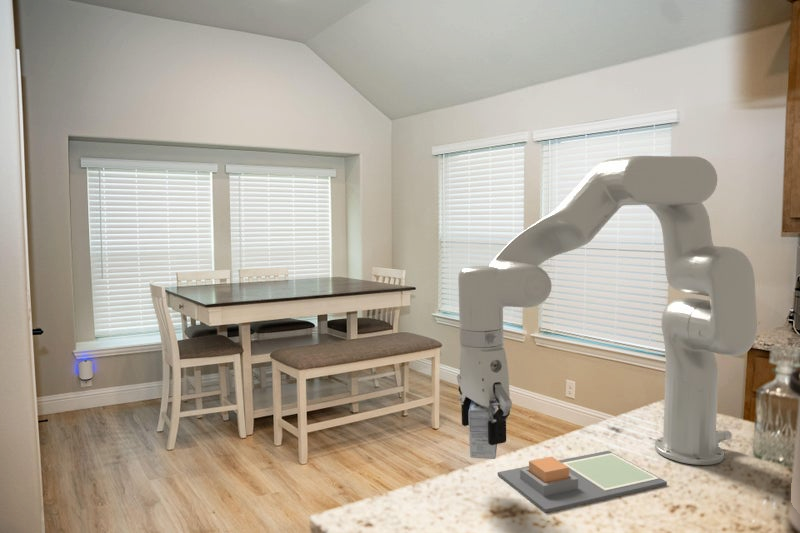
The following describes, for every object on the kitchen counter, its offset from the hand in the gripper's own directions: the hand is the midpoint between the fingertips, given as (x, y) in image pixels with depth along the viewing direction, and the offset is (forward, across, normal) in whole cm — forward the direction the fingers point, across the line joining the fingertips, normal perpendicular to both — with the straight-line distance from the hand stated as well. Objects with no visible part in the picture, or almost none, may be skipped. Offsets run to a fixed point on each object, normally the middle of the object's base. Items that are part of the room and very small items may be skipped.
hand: (483, 433), depth 103 cm
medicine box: (+3, 0, 0) cm, 3 cm away
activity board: (+11, -4, -18) cm, 21 cm away
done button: (+9, -4, -11) cm, 15 cm away
